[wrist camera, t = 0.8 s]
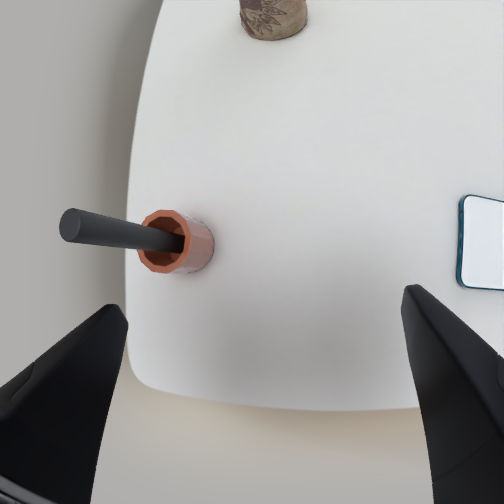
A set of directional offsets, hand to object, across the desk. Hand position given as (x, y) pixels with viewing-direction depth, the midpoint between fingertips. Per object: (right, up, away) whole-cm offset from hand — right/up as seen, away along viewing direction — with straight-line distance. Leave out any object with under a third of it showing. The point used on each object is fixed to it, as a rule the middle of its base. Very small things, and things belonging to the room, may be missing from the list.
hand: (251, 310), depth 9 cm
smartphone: (+25, +2, +11) cm, 27 cm away
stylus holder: (-5, +2, +17) cm, 18 cm away
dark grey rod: (-5, +2, +16) cm, 17 cm away
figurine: (+2, +26, +17) cm, 31 cm away
